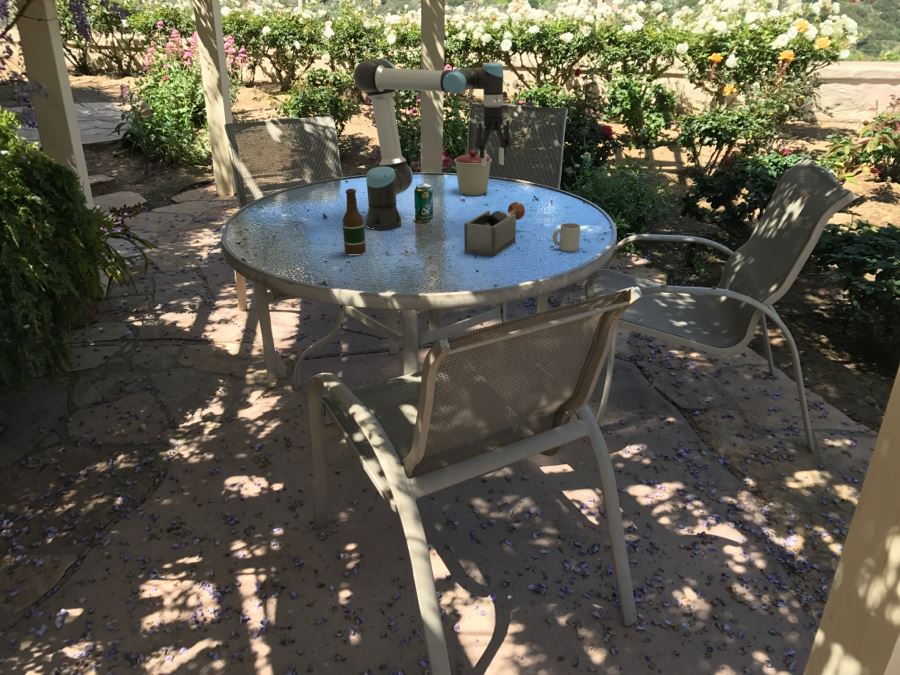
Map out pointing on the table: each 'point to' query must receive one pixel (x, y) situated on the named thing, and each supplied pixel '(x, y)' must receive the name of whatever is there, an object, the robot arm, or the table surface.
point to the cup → (568, 237)
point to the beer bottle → (353, 226)
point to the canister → (472, 174)
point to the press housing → (489, 235)
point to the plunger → (512, 209)
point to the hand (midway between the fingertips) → (492, 165)
